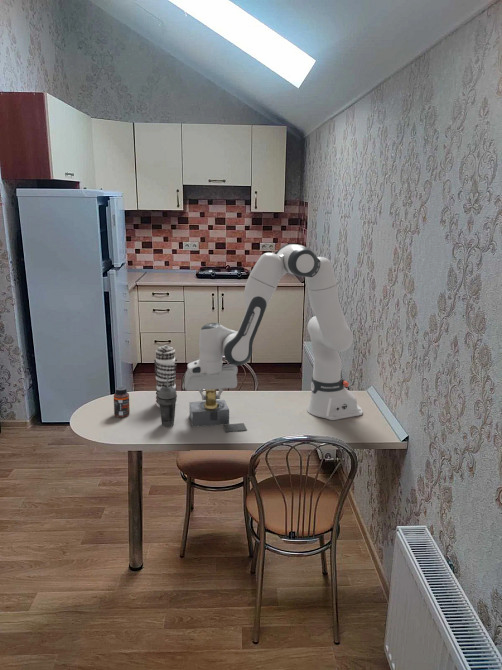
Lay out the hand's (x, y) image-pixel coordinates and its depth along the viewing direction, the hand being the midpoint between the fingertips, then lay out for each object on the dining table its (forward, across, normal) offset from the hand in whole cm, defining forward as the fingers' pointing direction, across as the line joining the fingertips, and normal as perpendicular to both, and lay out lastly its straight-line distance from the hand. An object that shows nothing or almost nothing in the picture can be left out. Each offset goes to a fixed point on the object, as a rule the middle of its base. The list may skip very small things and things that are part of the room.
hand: (210, 399), depth 202 cm
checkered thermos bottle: (+9, +16, -19) cm, 26 cm away
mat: (+9, -8, +9) cm, 15 cm away
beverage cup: (+9, +17, +1) cm, 19 cm away
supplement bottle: (+9, +34, -11) cm, 37 cm away
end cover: (+6, 0, 0) cm, 6 cm away
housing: (+9, +1, 0) cm, 9 cm away
